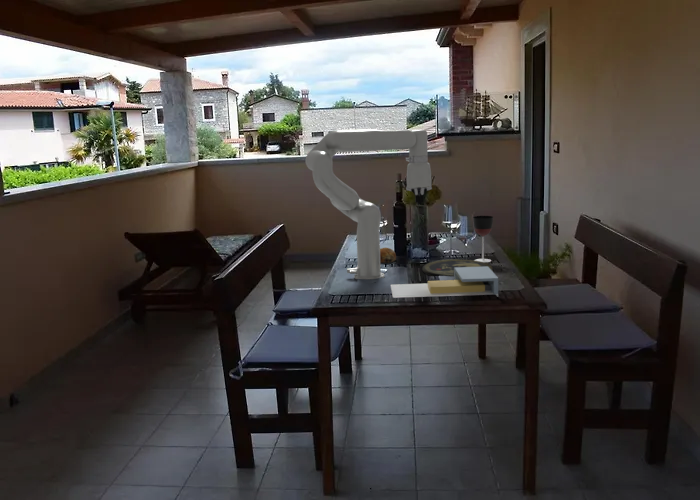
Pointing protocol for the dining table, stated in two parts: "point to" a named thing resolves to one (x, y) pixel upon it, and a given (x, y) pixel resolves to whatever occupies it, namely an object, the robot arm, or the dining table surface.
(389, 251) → the bread roll
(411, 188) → the robot arm
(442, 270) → the decorative plate
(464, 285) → the ochre panel
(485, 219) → the wineglass
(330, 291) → the dining table surface
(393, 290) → the overhang dock
